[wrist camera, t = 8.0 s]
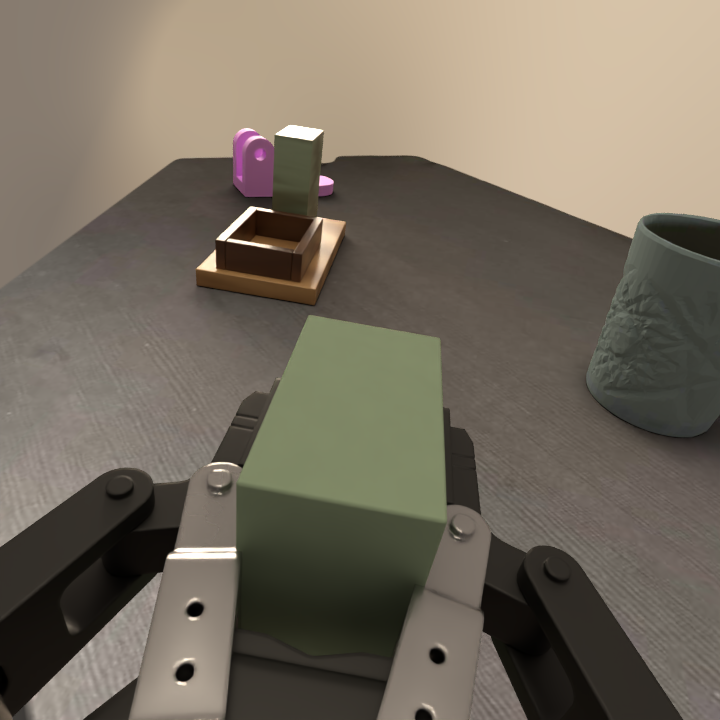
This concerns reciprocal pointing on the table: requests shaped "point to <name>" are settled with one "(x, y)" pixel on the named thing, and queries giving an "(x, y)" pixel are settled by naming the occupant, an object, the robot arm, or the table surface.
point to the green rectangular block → (344, 490)
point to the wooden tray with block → (280, 231)
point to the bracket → (259, 166)
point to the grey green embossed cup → (664, 329)
